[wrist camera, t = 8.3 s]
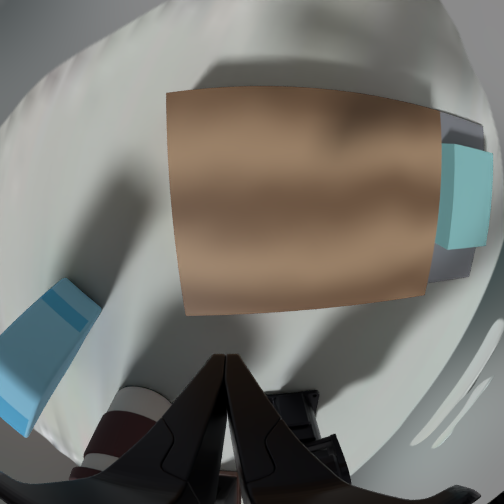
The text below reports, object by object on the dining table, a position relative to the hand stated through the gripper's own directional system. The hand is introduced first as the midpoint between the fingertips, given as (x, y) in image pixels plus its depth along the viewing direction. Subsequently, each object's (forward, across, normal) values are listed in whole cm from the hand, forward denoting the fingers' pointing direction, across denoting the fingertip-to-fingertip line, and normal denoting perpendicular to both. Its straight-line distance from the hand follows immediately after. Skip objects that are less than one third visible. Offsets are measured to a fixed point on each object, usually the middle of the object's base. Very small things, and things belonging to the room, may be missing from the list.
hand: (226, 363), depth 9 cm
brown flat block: (+13, -6, -4) cm, 14 cm away
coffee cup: (+13, +11, +19) cm, 25 cm away
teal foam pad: (+10, -21, -5) cm, 24 cm away
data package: (+13, +17, +8) cm, 23 cm away
